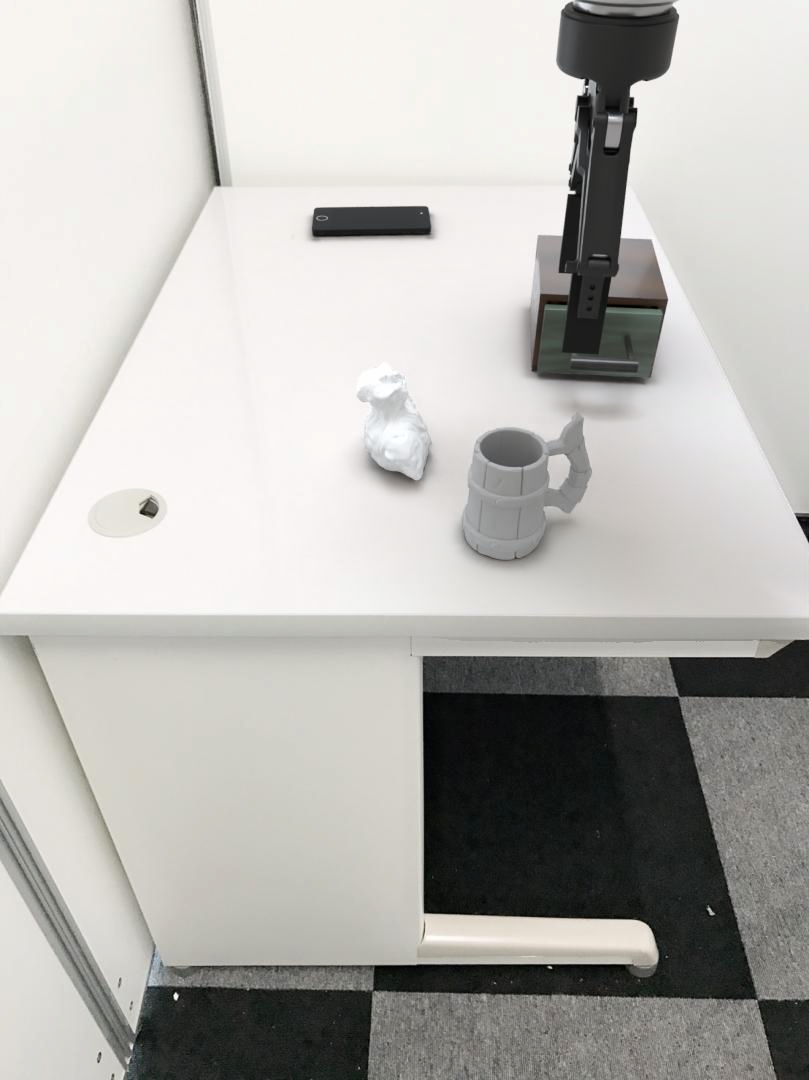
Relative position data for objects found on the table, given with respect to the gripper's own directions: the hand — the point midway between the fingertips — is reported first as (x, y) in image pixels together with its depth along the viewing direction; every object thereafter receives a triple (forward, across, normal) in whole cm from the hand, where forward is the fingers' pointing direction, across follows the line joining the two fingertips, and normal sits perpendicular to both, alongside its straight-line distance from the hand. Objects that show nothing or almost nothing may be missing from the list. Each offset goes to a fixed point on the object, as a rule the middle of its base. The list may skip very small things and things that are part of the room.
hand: (576, 309), depth 69 cm
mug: (+20, +5, -2) cm, 21 cm away
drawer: (+19, -26, +5) cm, 33 cm away
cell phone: (+20, -64, -27) cm, 72 cm away
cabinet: (+20, -32, +5) cm, 38 cm away
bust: (+20, -5, -16) cm, 26 cm away
